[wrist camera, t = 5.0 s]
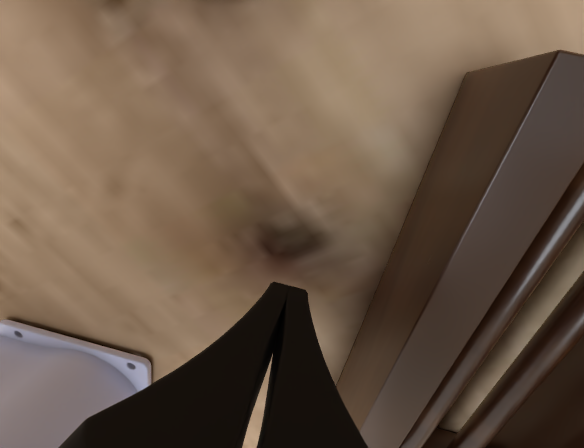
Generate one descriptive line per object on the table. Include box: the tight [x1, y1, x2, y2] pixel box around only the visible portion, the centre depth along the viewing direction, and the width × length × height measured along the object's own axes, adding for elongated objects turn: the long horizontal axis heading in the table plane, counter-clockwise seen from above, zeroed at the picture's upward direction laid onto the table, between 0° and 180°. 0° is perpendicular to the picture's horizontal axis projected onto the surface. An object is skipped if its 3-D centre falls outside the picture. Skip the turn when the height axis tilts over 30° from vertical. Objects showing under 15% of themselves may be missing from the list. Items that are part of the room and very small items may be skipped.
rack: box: [336, 50, 584, 448], centre depth 9 cm, size 10×18×7 cm, turn 168°
